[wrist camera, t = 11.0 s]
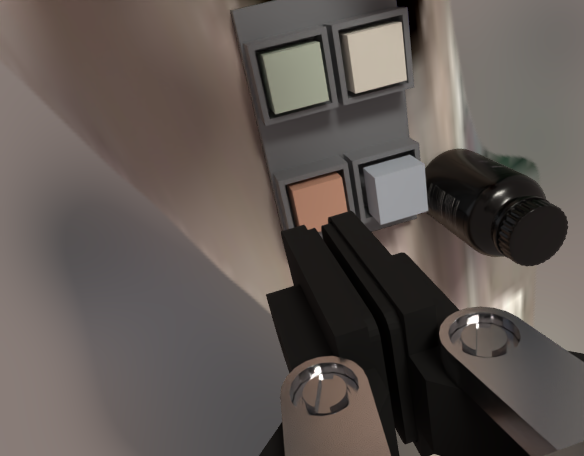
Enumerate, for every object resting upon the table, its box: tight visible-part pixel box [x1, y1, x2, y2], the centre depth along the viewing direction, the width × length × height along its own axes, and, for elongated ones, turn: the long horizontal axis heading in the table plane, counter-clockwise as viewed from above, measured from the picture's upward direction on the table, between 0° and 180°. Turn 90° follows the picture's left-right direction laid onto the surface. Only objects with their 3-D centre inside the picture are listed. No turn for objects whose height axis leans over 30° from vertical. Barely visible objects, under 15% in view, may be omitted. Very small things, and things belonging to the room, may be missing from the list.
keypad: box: [230, 0, 420, 239], centre depth 39 cm, size 20×12×3 cm, turn 12°
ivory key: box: [339, 21, 407, 94], centre depth 36 cm, size 4×4×2 cm
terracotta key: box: [286, 171, 347, 232], centre depth 40 cm, size 4×4×2 cm
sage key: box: [257, 40, 329, 114], centre depth 35 cm, size 4×4×2 cm
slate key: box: [363, 155, 428, 225], centre depth 39 cm, size 4×4×2 cm
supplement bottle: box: [425, 149, 568, 266], centre depth 40 cm, size 7×7×12 cm
